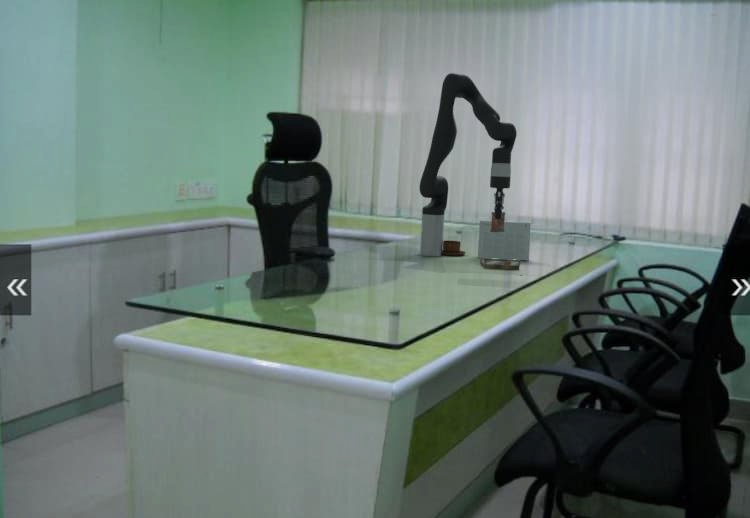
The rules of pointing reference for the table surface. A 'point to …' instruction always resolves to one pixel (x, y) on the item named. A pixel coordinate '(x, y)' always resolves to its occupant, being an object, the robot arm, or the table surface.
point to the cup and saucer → (452, 248)
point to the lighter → (498, 222)
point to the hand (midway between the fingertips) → (498, 218)
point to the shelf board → (500, 263)
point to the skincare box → (504, 241)
